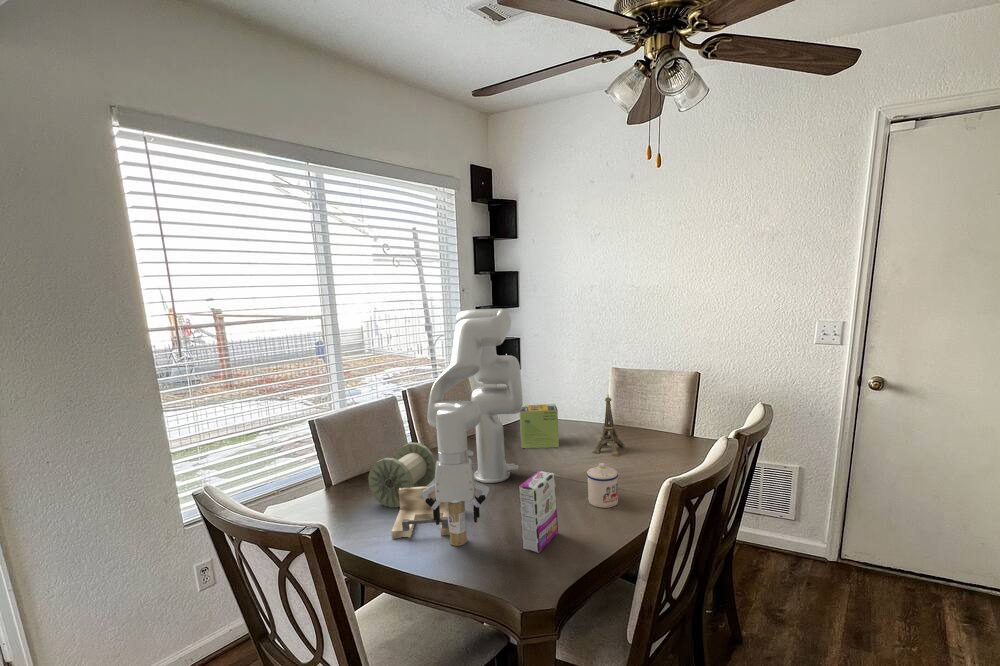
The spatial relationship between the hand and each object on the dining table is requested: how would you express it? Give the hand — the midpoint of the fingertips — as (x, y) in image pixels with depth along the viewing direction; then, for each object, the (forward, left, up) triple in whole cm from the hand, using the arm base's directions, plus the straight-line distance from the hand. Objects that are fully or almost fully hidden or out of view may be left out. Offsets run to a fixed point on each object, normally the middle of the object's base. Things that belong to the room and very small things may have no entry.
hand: (457, 521), depth 124 cm
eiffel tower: (-55, -62, -6) cm, 83 cm away
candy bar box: (-21, +2, -6) cm, 22 cm away
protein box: (-29, -75, -6) cm, 81 cm away
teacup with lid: (-43, -19, -6) cm, 48 cm away
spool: (+19, -31, -6) cm, 37 cm away
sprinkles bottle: (0, 0, -6) cm, 6 cm away
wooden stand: (+9, -11, -6) cm, 15 cm away
